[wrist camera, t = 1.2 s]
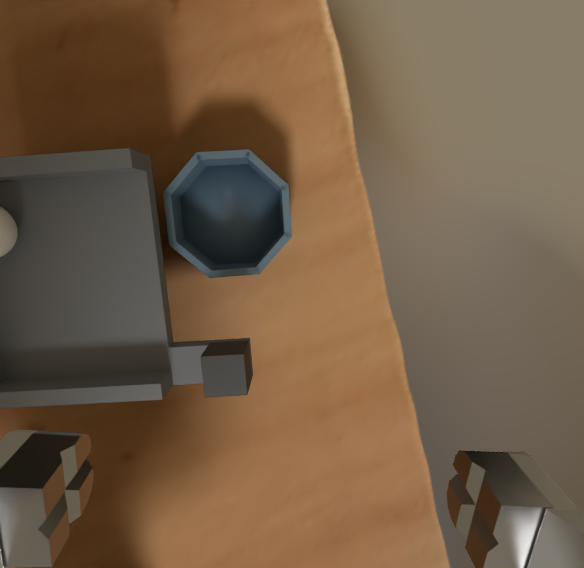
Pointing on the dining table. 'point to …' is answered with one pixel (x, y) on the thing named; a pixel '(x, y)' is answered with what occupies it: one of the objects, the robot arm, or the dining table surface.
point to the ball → (7, 232)
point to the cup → (227, 213)
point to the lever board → (94, 289)
